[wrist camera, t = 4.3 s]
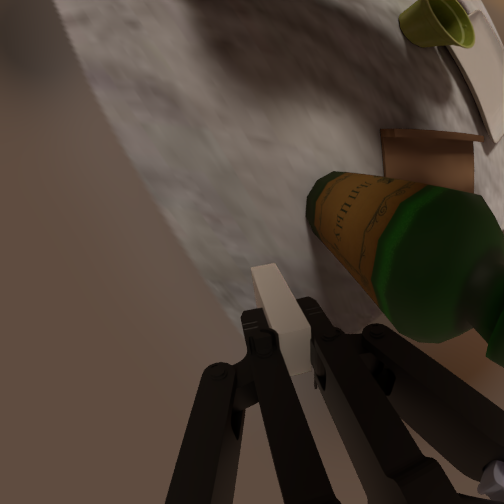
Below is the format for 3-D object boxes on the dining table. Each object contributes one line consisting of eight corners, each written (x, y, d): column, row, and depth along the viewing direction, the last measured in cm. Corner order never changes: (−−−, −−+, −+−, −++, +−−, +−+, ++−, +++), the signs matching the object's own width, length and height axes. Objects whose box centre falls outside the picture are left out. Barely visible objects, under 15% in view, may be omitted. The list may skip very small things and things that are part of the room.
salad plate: (426, 32, 24) (441, 28, 20) (470, 11, 21) (481, 8, 18) (482, 145, 31) (496, 147, 28) (514, 100, 29) (525, 101, 25)
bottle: (341, 142, 29) (602, 193, 3) (387, 208, 32) (578, 317, 6) (275, 205, 30) (486, 421, 4) (331, 265, 34) (485, 444, 8)
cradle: (380, 128, 28) (394, 128, 26) (470, 134, 30) (483, 135, 27) (383, 262, 35) (395, 271, 32) (467, 238, 37) (479, 243, 34)
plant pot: (376, 15, 22) (415, -6, 14) (405, -3, 21) (441, -21, 13) (419, 67, 26) (463, 58, 18) (443, 43, 24) (481, 35, 16)
